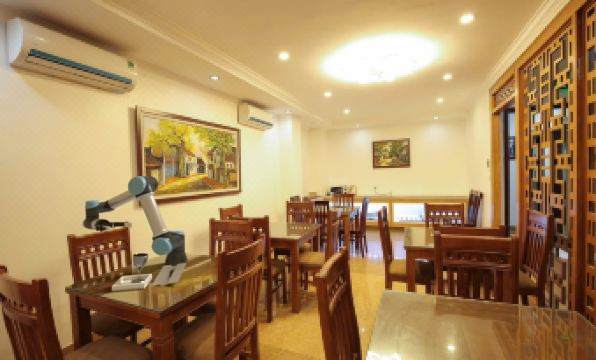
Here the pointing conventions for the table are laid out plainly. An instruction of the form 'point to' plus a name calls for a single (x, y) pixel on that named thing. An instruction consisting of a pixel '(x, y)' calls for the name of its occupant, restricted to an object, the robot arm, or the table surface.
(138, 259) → the silver metal goblet
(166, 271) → the grey display stand
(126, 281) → the tray
